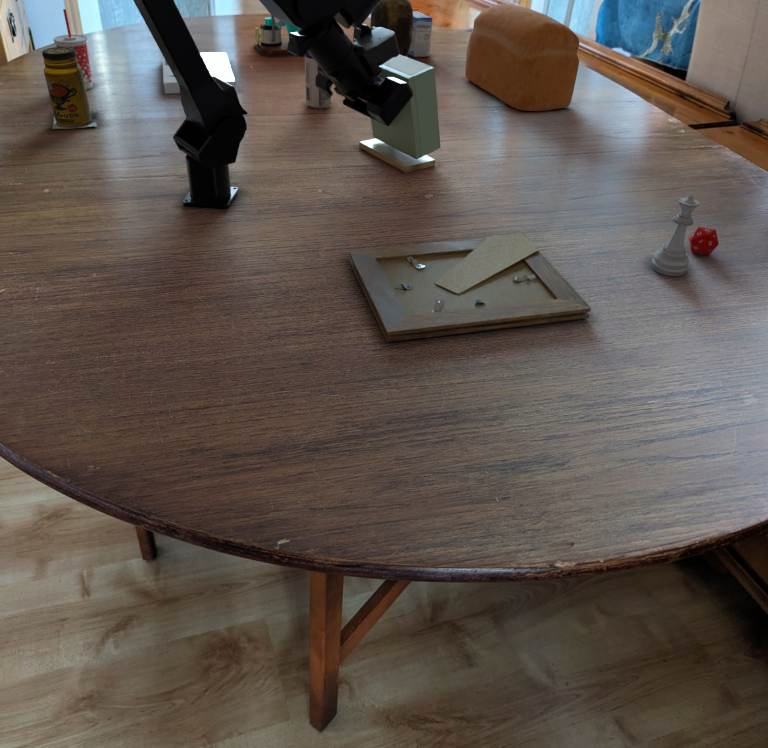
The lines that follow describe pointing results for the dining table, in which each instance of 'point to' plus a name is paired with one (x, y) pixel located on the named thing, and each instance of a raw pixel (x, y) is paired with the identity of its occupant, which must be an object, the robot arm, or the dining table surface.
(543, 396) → the dining table surface
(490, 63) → the bread
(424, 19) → the medicine box
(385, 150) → the shelf foot
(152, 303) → the dining table surface
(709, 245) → the die
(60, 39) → the beverage cup
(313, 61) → the beer can
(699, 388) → the dining table surface
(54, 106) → the condiment
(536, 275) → the picture frame
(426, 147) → the green rectangular box
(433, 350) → the dining table surface
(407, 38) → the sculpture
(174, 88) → the book
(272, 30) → the contraption on wooden base
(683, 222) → the chess piece
